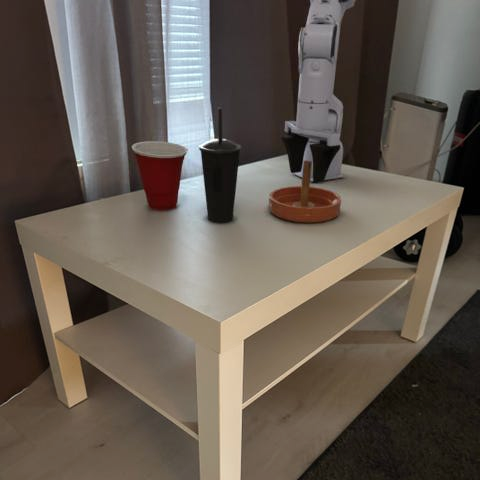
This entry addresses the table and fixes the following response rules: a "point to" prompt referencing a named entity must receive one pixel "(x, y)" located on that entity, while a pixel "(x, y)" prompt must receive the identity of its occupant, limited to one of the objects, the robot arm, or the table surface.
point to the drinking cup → (220, 175)
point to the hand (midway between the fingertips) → (306, 177)
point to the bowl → (321, 198)
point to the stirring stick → (305, 186)
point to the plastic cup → (160, 172)
